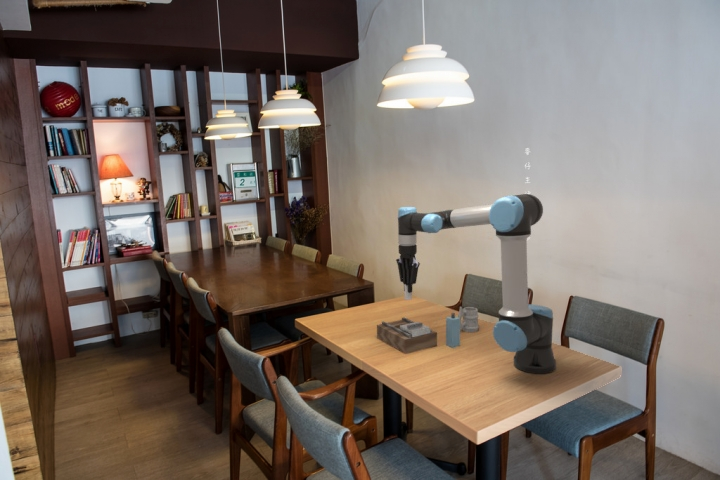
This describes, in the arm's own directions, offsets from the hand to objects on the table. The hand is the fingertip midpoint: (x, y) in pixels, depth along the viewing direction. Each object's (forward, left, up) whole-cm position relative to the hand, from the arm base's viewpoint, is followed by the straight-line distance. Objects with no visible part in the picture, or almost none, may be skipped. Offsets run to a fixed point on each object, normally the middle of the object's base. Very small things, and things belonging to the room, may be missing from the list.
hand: (408, 299), depth 221 cm
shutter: (-6, +1, -13) cm, 14 cm away
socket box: (+1, +1, -19) cm, 19 cm away
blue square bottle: (-13, -13, -19) cm, 27 cm away
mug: (-2, -30, -19) cm, 36 cm away
